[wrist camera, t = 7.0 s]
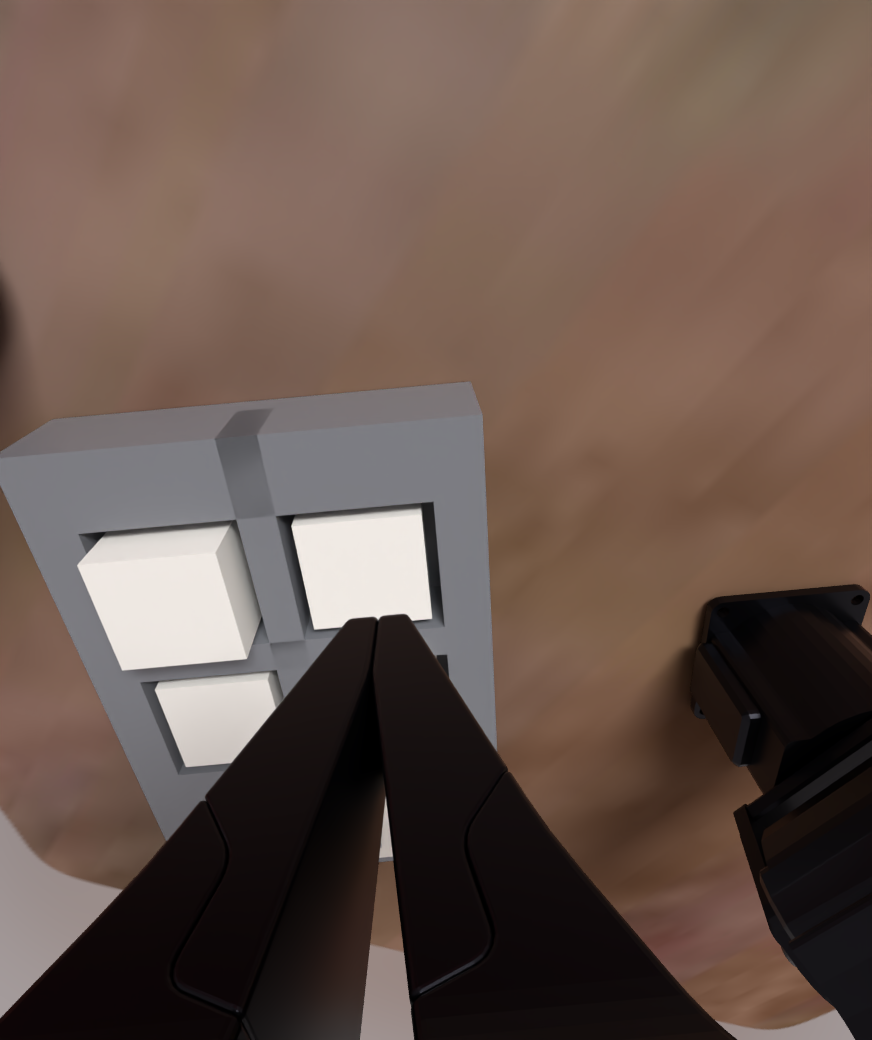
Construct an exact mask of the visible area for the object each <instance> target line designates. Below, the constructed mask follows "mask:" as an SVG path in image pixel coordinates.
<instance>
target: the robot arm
mask: <svg viewBox="0 0 872 1040" xmlns="http://www.w3.org/2000/svg"><path fill="white" fill-rule="evenodd" d="M855 596H856V597H855ZM869 600H870V594H869V592H868V591H866V590H865V589H864V588H863V587H862V586H860V585H856V584H853V585H842V586H831V587H820V588H809V589H798V590H788V591H777V592H766V593H755V594H744V595H733V596H722V597H717V598H715V599H713V600H711V601H710V602H709V604H708V606H707V609H706V615H705V621H704V627H703V633H702V639H701V643H700V644H699V646H698V648H697V649H696V655H695V662H694V668H693V674H692V680H691V686H690V691H691V693H692V699H691V705H690V706H691V709H692V711H693V713H694V715H695V716H696V717H697V718H700V719H707V721H708V723H709V724H710V726H711V728H712V729H713V731H714V733H715V735H716V736H717V738H718V740H719V741H720V743H721V745H722V747H723V748H724V750H725V752H726V753H727V755H728V757H729V759H730V760H731V762H733V763H734V764H735V765H736V766H738V767H742V766H747V768H748V770H749V771H750V773H751V775H752V776H753V778H754V780H755V781H756V783H757V785H758V786H759V788H760V790H761V791H762V793H763V795H762V796H760V797H759V798H757V799H756V800H755V801H753V802H752V803H750V804H749V805H747V804H744V805H743V806H741V807H740V808H739V809H737V810H736V811H734V812H733V814H734V817H735V820H736V823H737V827H738V830H739V833H740V838H741V841H742V844H743V847H744V850H745V853H746V857H747V860H748V863H749V866H750V869H751V872H752V875H753V878H754V882H755V885H756V888H757V891H758V894H759V897H760V900H761V904H762V907H763V910H764V913H765V916H766V919H767V922H768V925H769V929H770V931H771V933H772V935H773V937H774V938H775V940H776V941H777V942H778V943H779V944H780V945H781V948H782V951H783V953H784V955H785V956H786V958H787V959H788V960H789V962H790V963H791V964H792V965H794V966H795V967H797V968H798V970H799V971H800V972H801V973H802V975H803V976H804V977H805V978H806V980H807V981H808V982H809V983H810V984H811V986H812V987H813V988H814V989H815V990H816V991H817V992H818V993H819V994H820V995H821V996H822V997H823V998H824V999H825V1000H826V1001H828V1002H829V1003H830V1004H831V1005H832V1006H834V1007H835V1008H836V1010H837V1011H838V1013H839V1014H840V1016H841V1017H842V1019H843V1020H844V1022H845V1023H846V1025H847V1026H848V1028H849V1030H850V1032H851V1033H852V1035H853V1037H854V1038H855V1040H872V635H871V634H870V633H869V632H867V631H866V630H865V629H864V628H863V627H862V626H861V624H862V621H863V618H864V615H865V612H866V609H867V606H868V603H869ZM723 607H724V609H723V610H721V611H718V610H719V609H721V608H723ZM385 799H386V803H387V812H388V820H389V829H390V837H391V846H392V854H393V863H394V871H395V880H396V888H397V897H398V905H399V914H400V922H401V931H402V939H403V948H404V955H405V964H406V972H407V981H408V990H409V998H410V1004H411V1015H412V1024H413V1032H414V1040H737V1039H736V1038H735V1037H733V1036H732V1035H731V1034H730V1033H728V1032H727V1031H726V1030H725V1029H724V1028H723V1027H722V1026H720V1025H719V1024H718V1023H717V1022H716V1021H715V1020H714V1019H713V1018H712V1017H711V1016H710V1015H709V1014H708V1013H707V1012H706V1011H705V1010H704V1009H703V1008H702V1007H701V1006H700V1005H699V1004H698V1003H697V1002H696V1001H695V1000H694V999H693V998H692V997H691V996H690V995H689V994H688V993H687V992H686V991H685V989H684V988H683V987H682V986H681V985H680V984H679V983H678V982H677V980H676V979H675V978H674V977H673V976H672V975H671V974H670V972H669V971H668V970H667V969H666V968H665V967H664V965H663V964H662V963H661V962H660V961H659V960H658V958H657V957H656V956H655V955H654V954H653V953H652V951H651V950H650V949H649V948H648V947H647V946H646V944H645V943H644V942H643V941H642V940H641V939H640V937H639V936H638V935H637V934H636V933H635V931H634V930H633V929H632V928H631V927H630V926H629V924H628V923H627V922H626V921H625V920H624V919H623V917H622V916H621V915H620V914H619V913H618V912H617V910H616V909H615V908H614V907H613V906H612V905H611V903H610V902H609V901H608V900H607V899H606V898H605V896H604V895H603V894H602V893H601V892H600V891H599V889H598V888H597V887H596V886H595V885H594V883H593V882H592V881H591V880H590V879H589V878H588V876H587V875H586V874H585V873H584V872H583V871H582V869H581V868H580V867H579V866H578V864H577V863H576V862H575V861H574V859H573V858H572V857H571V856H570V854H569V853H568V852H567V851H566V849H565V848H564V847H563V846H562V844H561V843H560V842H559V841H558V840H557V838H556V837H555V836H554V835H553V833H552V832H551V831H550V829H549V828H548V826H547V825H546V824H545V822H544V821H543V819H542V818H541V816H540V815H539V814H538V812H537V811H536V809H535V808H534V807H533V805H532V804H531V802H530V801H529V799H528V798H527V797H526V795H525V794H524V792H523V790H522V789H521V787H520V786H519V784H518V783H517V781H516V780H515V778H514V777H513V775H512V774H511V773H510V772H508V769H507V766H506V765H505V763H504V762H503V760H502V759H501V757H500V756H499V754H498V753H497V751H496V749H495V748H494V746H493V745H492V743H491V742H490V740H489V739H488V737H487V736H486V734H485V733H484V731H483V729H482V728H481V726H480V725H479V723H478V722H477V720H476V719H475V717H474V716H473V714H472V713H471V711H470V709H469V708H468V706H467V705H466V703H465V702H464V700H463V699H462V697H461V696H460V694H459V692H458V691H457V689H456V688H455V686H454V685H453V683H452V682H451V680H450V679H449V677H448V676H447V674H446V672H445V671H444V669H443V668H442V666H441V665H440V663H439V662H438V660H437V659H436V657H435V656H434V654H433V652H432V651H431V649H430V648H429V646H428V645H427V643H426V642H425V640H424V639H423V637H422V636H421V634H420V632H419V631H418V629H417V628H416V626H415V625H414V623H413V622H412V620H411V619H410V617H409V616H408V615H407V614H394V615H384V616H381V617H380V618H379V620H378V619H377V618H376V617H362V618H352V619H349V620H348V621H347V622H346V623H345V624H344V625H343V626H342V628H341V629H340V630H339V631H338V633H337V634H336V635H335V636H334V637H333V639H332V640H331V641H330V642H329V644H328V645H327V646H326V647H325V649H324V650H323V651H322V652H321V653H320V655H319V656H318V657H317V658H316V660H315V661H314V662H313V663H312V664H311V666H310V667H309V668H308V669H307V671H306V672H305V673H304V674H303V676H302V677H301V678H300V679H299V680H298V682H297V683H296V684H295V685H294V687H293V688H292V689H291V690H290V691H289V693H288V694H287V695H286V696H285V698H284V699H283V700H282V701H281V703H280V704H279V705H278V706H277V707H276V709H275V710H274V711H273V712H272V714H271V715H270V716H269V717H268V718H267V720H266V721H265V722H264V723H263V725H262V726H261V727H260V728H259V730H258V731H257V732H256V733H255V734H254V736H253V737H252V738H251V739H250V741H249V742H248V743H247V744H246V745H245V747H244V748H243V749H242V750H241V752H240V753H239V754H238V755H237V757H236V758H235V759H234V760H233V761H232V763H231V764H230V765H229V766H228V768H227V769H226V770H225V771H224V773H223V774H222V775H221V776H220V777H219V779H218V780H217V781H216V782H215V784H214V785H213V786H212V787H211V788H210V790H209V791H208V792H207V793H206V795H205V800H206V801H205V800H201V801H200V802H199V803H198V804H197V805H196V806H195V808H194V809H193V810H192V811H191V813H190V814H189V815H188V816H187V818H186V819H185V820H184V821H183V822H182V824H181V825H180V826H179V827H178V828H177V830H176V831H175V832H174V833H173V834H172V835H171V837H170V838H169V839H168V840H167V841H166V842H165V844H164V845H163V846H162V847H161V848H160V850H159V851H158V852H157V853H156V854H155V855H154V857H153V858H152V859H151V860H150V861H149V862H148V864H147V865H146V866H145V867H144V868H143V869H142V870H141V871H140V872H139V874H138V875H137V876H136V877H135V878H134V879H133V880H132V881H131V882H130V883H129V884H128V885H127V886H126V888H125V889H124V890H123V891H122V892H121V893H120V894H119V895H118V896H117V897H116V899H114V901H113V902H112V903H111V904H110V905H109V906H108V907H107V908H106V909H105V910H104V911H103V912H102V913H101V914H100V915H99V917H98V918H97V919H96V920H95V921H94V922H93V923H92V924H91V925H90V926H89V927H88V928H87V929H86V930H85V931H84V932H83V933H82V934H81V935H80V936H79V937H78V938H77V939H76V940H75V942H74V943H72V944H71V946H70V947H69V948H68V949H67V950H66V951H65V952H64V953H63V954H62V955H61V956H60V957H59V958H58V959H57V960H56V961H55V962H54V963H53V964H52V965H51V966H50V967H49V968H48V969H47V970H46V971H45V972H44V973H43V975H42V976H41V977H40V978H39V979H38V980H37V981H36V982H35V983H34V984H33V985H32V986H31V987H30V988H29V989H28V990H27V991H26V992H25V993H24V994H23V995H22V996H21V997H20V998H19V999H18V1000H17V1001H16V1003H15V1004H14V1005H13V1006H12V1007H11V1008H10V1009H9V1010H8V1011H7V1012H6V1013H5V1014H4V1015H3V1016H2V1017H1V1018H0V1040H360V1033H361V1024H362V1014H363V1005H364V996H365V986H366V976H367V966H368V957H369V949H370V939H371V930H372V921H373V911H374V902H375V892H376V883H377V874H378V864H379V855H380V846H381V836H382V827H383V817H384V808H385Z"/></svg>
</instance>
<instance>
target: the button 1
mask: <svg viewBox="0 0 872 1040" xmlns="http://www.w3.org/2000/svg"><path fill="white" fill-rule="evenodd" d="M77 566H78V569H79V571H80V573H81V576H82V578H83V580H84V583H85V585H86V587H87V590H88V592H89V594H90V597H91V599H92V601H93V604H94V606H95V608H96V611H97V613H98V615H99V618H100V620H101V622H102V625H103V627H104V629H105V632H106V634H107V636H108V639H109V641H110V643H111V646H112V648H113V650H114V653H115V655H116V657H117V660H118V662H119V664H120V667H121V669H122V671H123V670H134V669H145V668H156V667H166V666H177V665H188V664H199V663H210V662H221V661H232V660H243V659H247V657H248V655H249V652H250V649H251V646H252V643H253V640H254V637H255V634H256V631H257V628H258V625H259V622H260V620H261V617H262V614H261V610H260V606H259V602H258V599H257V595H256V591H255V588H254V584H253V580H252V576H251V573H250V569H249V565H248V562H247V558H246V554H245V550H244V547H243V543H242V539H241V535H240V532H239V528H238V524H237V521H236V520H227V521H216V522H205V523H194V524H183V525H172V526H161V527H150V528H139V529H128V530H117V531H107V532H106V533H105V535H104V536H103V537H102V538H101V539H100V540H99V541H98V542H97V543H96V545H95V546H94V547H93V548H92V549H91V550H90V551H89V552H88V553H87V555H86V556H85V557H84V558H83V559H82V560H81V561H80V562H79V564H78V565H77Z"/></svg>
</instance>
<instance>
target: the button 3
mask: <svg viewBox="0 0 872 1040" xmlns="http://www.w3.org/2000/svg"><path fill="white" fill-rule="evenodd" d="M291 527H292V531H293V536H294V540H295V545H296V549H297V554H298V558H299V563H300V567H301V572H302V577H303V581H304V586H305V590H306V595H307V599H308V604H309V608H310V613H311V617H312V622H313V626H314V630H316V629H327V628H338V627H342V626H343V625H344V624H345V623H346V622H347V621H348V620H349V619H352V618H362V617H376V618H377V619H378V620H379V618H380V617H381V616H384V615H394V614H407V615H408V616H409V617H410V619H411V620H412V621H414V620H425V619H432V609H431V594H430V579H429V568H428V558H427V548H426V538H425V528H424V518H423V509H422V503H413V504H402V505H391V506H380V507H369V508H358V509H347V510H336V511H325V512H314V513H303V514H296V515H295V517H294V520H293V523H292V526H291Z"/></svg>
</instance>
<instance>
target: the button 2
mask: <svg viewBox="0 0 872 1040" xmlns="http://www.w3.org/2000/svg"><path fill="white" fill-rule="evenodd" d="M155 692H156V694H157V697H158V699H159V702H160V704H161V707H162V709H163V712H164V714H165V717H166V719H167V722H168V724H169V727H170V729H171V731H172V734H173V736H174V739H175V741H176V744H177V746H178V749H179V751H180V754H181V756H182V759H183V761H184V764H185V766H186V767H194V766H205V765H216V764H227V763H232V761H233V760H234V759H235V758H236V757H237V755H238V754H239V753H240V752H241V750H242V749H243V748H244V747H245V745H246V744H247V743H248V742H249V741H250V739H251V738H252V737H253V736H254V734H255V733H256V732H257V731H258V730H259V728H260V727H261V726H262V725H263V723H264V722H265V721H266V720H267V718H268V717H269V716H270V715H271V714H272V712H273V711H274V710H275V709H276V707H277V706H278V705H279V704H280V703H281V701H282V700H283V699H284V696H283V692H282V688H281V684H280V681H279V677H278V673H277V670H271V671H260V672H249V673H239V674H228V675H217V676H206V677H195V678H184V679H173V680H162V681H159V683H158V685H157V687H156V689H155Z"/></svg>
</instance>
